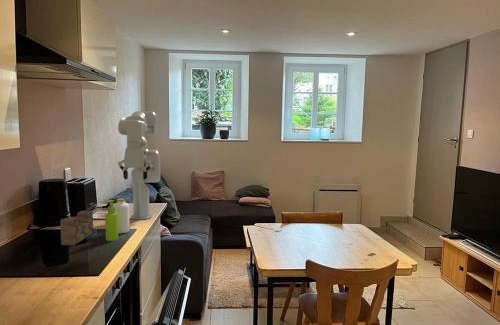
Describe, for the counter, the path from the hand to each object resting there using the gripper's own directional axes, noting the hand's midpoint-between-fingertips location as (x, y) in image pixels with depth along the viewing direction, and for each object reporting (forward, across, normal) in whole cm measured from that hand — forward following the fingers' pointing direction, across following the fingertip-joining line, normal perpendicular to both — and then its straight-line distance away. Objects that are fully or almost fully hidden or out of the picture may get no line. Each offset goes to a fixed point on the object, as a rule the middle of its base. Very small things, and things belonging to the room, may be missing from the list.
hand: (135, 179), depth 181 cm
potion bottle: (+30, +12, -11) cm, 34 cm away
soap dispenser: (+31, +12, +2) cm, 33 cm away
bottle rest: (+30, +29, +2) cm, 42 cm away
